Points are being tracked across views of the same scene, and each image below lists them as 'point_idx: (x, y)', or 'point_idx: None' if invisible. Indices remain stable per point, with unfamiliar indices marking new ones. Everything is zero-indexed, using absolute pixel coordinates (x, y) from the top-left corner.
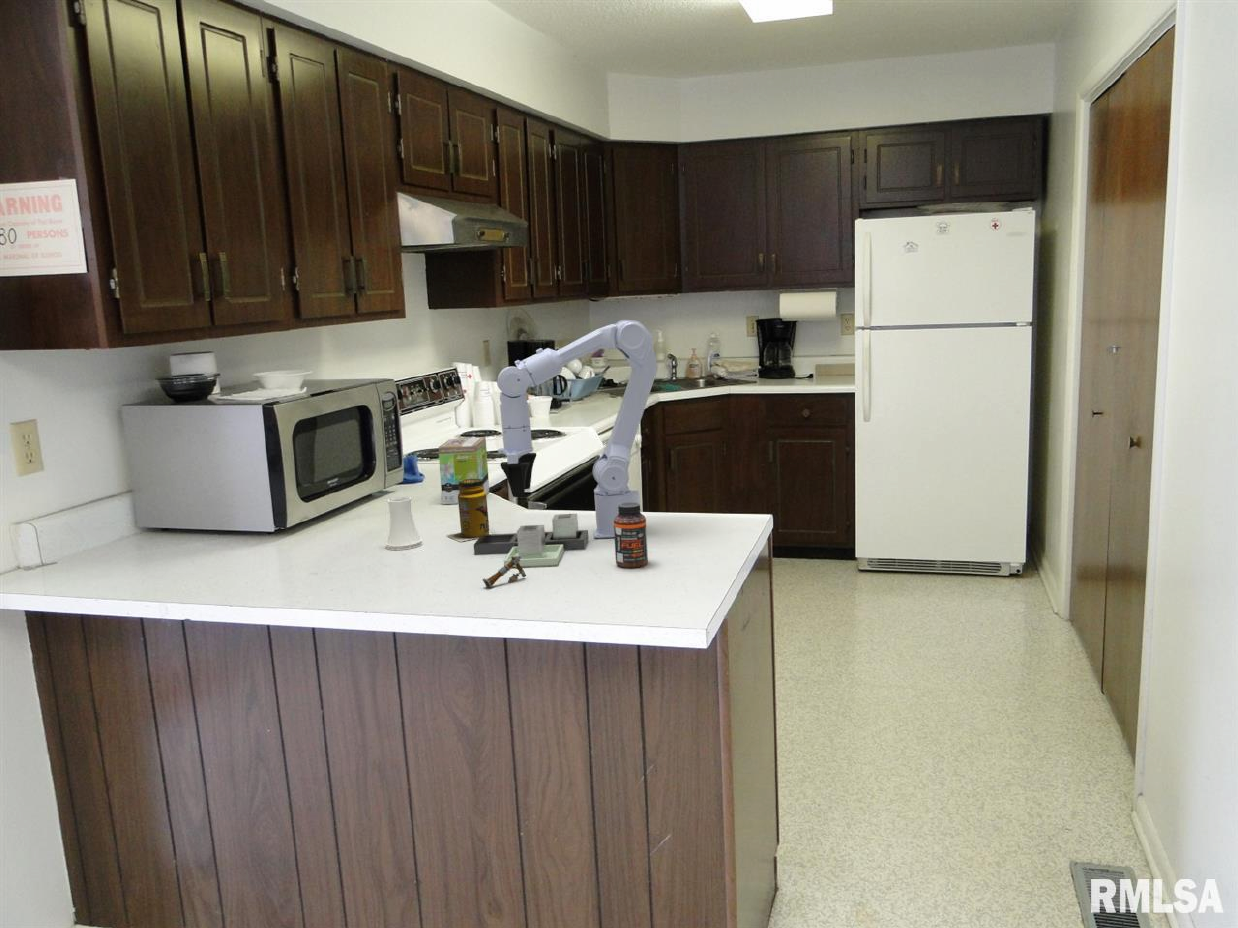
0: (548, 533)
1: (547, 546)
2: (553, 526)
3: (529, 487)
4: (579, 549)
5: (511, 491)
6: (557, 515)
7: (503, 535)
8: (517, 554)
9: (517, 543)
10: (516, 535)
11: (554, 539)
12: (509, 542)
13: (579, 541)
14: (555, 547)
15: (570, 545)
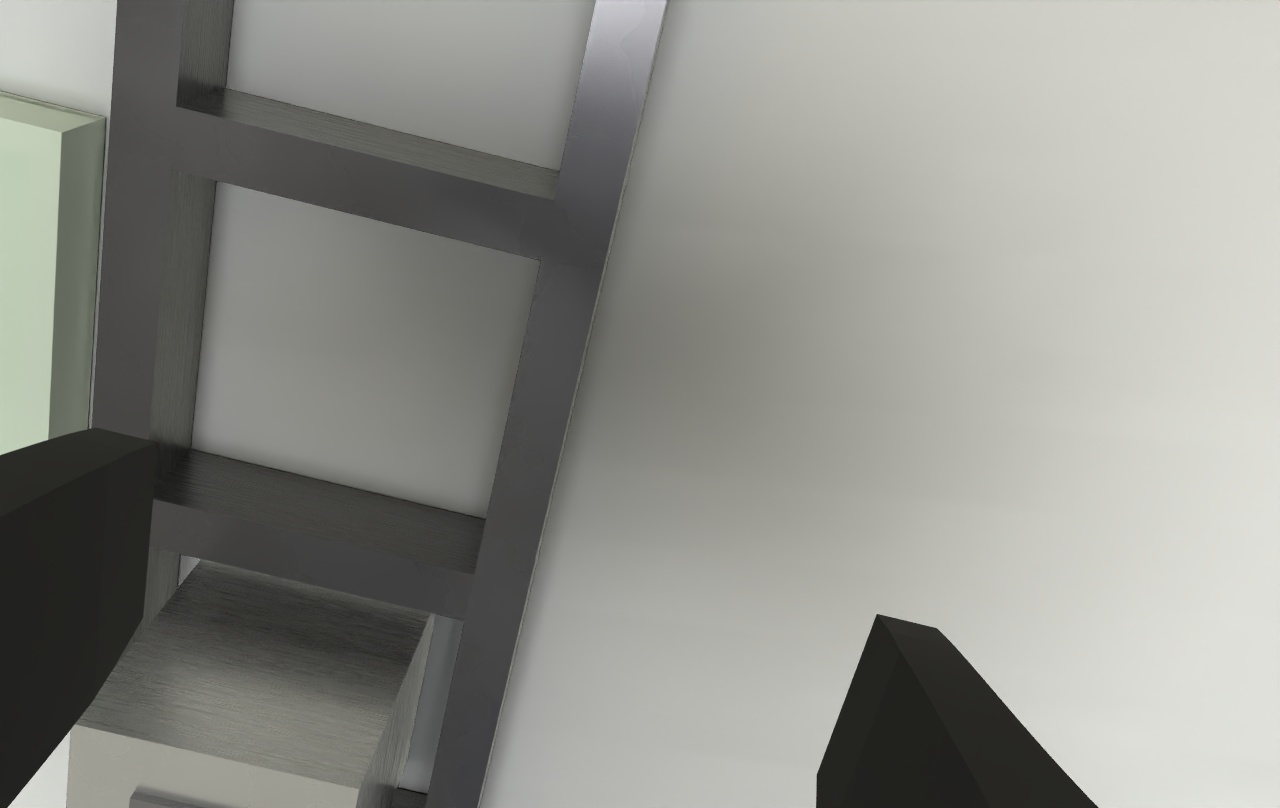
0: (449, 571)
1: None
2: (112, 678)
3: (821, 802)
4: None
5: (15, 454)
6: (292, 806)
7: (588, 52)
8: (10, 160)
9: (110, 199)
10: (488, 220)
11: (182, 592)
12: (151, 106)
13: None
14: None
15: None
